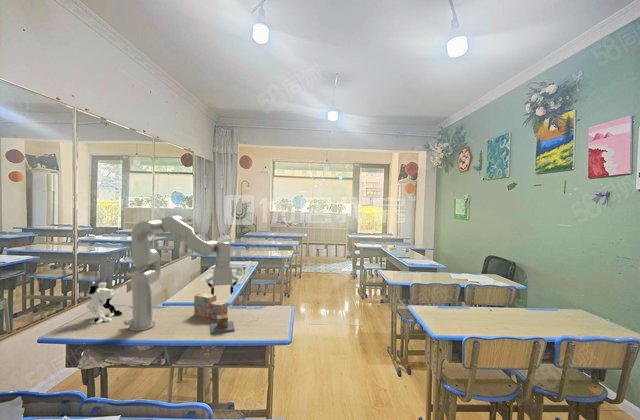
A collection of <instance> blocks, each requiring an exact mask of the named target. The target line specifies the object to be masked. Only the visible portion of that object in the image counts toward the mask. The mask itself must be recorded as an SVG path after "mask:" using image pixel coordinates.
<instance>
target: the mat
mask: <svg viewBox="0 0 640 420" xmlns="http://www.w3.org/2000/svg"><path fill="white" fill-rule="evenodd" d="M210 332H211V333H210V334H211V335H213V334H220V333H221V334H222V333H228V332H229V333H230V332H235V325H234V320H228V328H221V329H217V322H213V323H212V322H211V323H210Z"/></svg>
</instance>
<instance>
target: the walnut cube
mask: <svg viewBox="0 0 640 420" xmlns="http://www.w3.org/2000/svg"><path fill="white" fill-rule="evenodd" d="M228 321H229V316H228V313H227V314H225V315H217V319H216V323H217V329H221V328H228Z"/></svg>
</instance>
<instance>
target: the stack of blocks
mask: <svg viewBox="0 0 640 420" xmlns="http://www.w3.org/2000/svg"><path fill="white" fill-rule="evenodd" d="M193 298H194V301H193V302H194V303H193V306H194V307H193V309H194V312H193V313H194V314H193V315H195V316H199V317H202V318H203V317H204V318H209V319H212V318H213V320H217V315H225V314H227V315H228V307H229V305H228V304H229V303H228V302H227V301H223V300H217V295H216V294H214V295H213V296H212V294H211V293H205V292H200V293H197V294H196V295H195V294H194V295H193Z"/></svg>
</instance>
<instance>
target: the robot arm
mask: <svg viewBox="0 0 640 420" xmlns="http://www.w3.org/2000/svg"><path fill="white" fill-rule="evenodd" d="M164 233H170V234H171V235H173V236H174V237H176V238H178V239H179V240H181V241H182V242H183V243H184V244H185V245H186V247H188V248H189V249H190V250H191V251H193V252H194V253H196V254H197V255H200V256H202V257H209V256H211V255H214V254H215V261H214V262H213V264H212V265H214V268H213V273H212V276H211V277H210V278H208V279H206V280H205V282H206V284H207V286H208V287H209V288H210V294H211V295H212V296H213V295H215V286H228V285H230V295H233V293H234V287H235V286H236V285H237V283H238V282H239V278H238V277H236V276H234V275H233V267H232V265H231V246H232V245H231V242H229V241H218V240H213V239H211V240H207V241H204V240H203V239H201V238H200V237H198V236H197V235H196V233H195V232H194V228H193V227H191V226H190V225H189V224H187V223H186V222H185V219H184V218H183V217H182V216H180V215H175V214H174V215H167V216H165V217H163V218H158V219H157V218H156V219H146V220H142V221H139V222H138V223H136V224H135V225H133V227H132V230H131V233H130V234H131V235H130V236H131V248H132V251H131V253H132V264H133V266H134V267H135V268H137V269H141V270H137V271H136V272H135V273H133V274H132V276H131V278H130V286H131V291H132V318H131V319H130V320H128V319H127V320H123V323H122V324H123V325H125V326H129V327H128V329H129V330H130V331H133V332H134V331H135V332H137V331H138V332H139V331H145V330H149V329H151V328H153V327H155V326H156V321H154V320H153V290H152V287H151V285H152V284H154V283H157V282H158V280H160V278H161V256H160V253H159V252H158V251H157V250H156V249H154V248H151V243H150V239H149V236H152V235H153V236H154V235H158V234H164ZM233 280H234V282H233ZM211 281H212V283H211Z"/></svg>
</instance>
